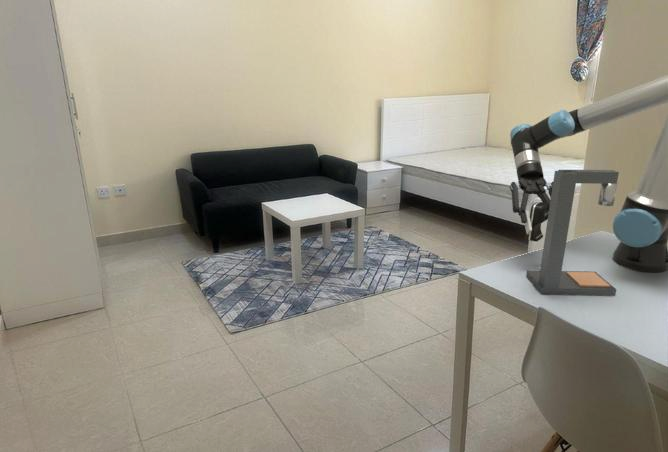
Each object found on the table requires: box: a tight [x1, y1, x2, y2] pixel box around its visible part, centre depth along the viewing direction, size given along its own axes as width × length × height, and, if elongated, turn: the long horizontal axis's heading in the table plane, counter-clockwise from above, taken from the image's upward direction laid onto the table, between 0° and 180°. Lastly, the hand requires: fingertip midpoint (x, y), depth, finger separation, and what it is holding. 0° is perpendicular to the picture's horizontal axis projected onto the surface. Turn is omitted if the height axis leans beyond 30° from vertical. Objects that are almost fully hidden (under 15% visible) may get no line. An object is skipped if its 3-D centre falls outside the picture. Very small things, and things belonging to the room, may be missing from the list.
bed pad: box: [567, 271, 610, 287], centre depth 131 cm, size 8×9×1 cm
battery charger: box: [526, 201, 549, 242], centre depth 139 cm, size 7×4×11 cm, turn 138°
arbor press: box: [525, 169, 620, 297], centre depth 127 cm, size 20×12×34 cm, turn 87°
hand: (541, 232), depth 136 cm, fingers closed on battery charger, 6 cm apart
